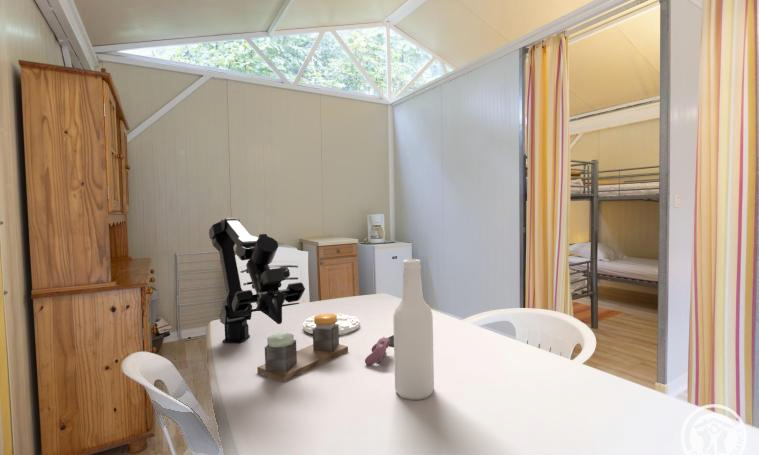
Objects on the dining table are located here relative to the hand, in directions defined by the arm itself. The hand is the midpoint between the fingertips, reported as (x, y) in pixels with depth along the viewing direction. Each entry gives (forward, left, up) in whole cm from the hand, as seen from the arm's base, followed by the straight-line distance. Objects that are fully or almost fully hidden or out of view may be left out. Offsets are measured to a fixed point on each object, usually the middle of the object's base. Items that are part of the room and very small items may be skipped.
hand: (280, 323), depth 98 cm
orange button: (+8, +15, -10) cm, 19 cm away
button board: (+4, +7, -13) cm, 15 cm away
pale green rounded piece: (0, 0, -11) cm, 11 cm away
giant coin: (+3, +38, -13) cm, 40 cm away
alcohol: (+35, -7, -13) cm, 38 cm away
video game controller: (+24, +11, -13) cm, 29 cm away
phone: (+29, +28, -13) cm, 42 cm away
